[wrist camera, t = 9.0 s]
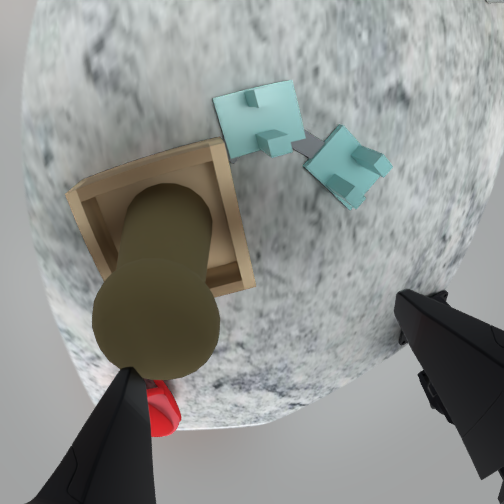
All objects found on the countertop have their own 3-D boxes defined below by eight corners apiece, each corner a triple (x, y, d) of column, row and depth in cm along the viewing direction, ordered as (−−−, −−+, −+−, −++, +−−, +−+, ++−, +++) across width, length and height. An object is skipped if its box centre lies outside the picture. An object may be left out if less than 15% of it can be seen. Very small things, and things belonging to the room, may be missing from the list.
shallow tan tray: (248, 263, 22) (256, 286, 20) (130, 293, 22) (124, 318, 19) (219, 136, 17) (224, 142, 15) (81, 179, 17) (65, 194, 14)
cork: (226, 245, 20) (259, 373, 11) (151, 277, 21) (136, 410, 11) (190, 166, 17) (187, 256, 8) (108, 207, 17) (41, 322, 8)
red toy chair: (184, 392, 24) (126, 415, 20) (193, 435, 25) (143, 458, 21) (147, 359, 30) (99, 374, 26) (157, 399, 31) (113, 415, 27)
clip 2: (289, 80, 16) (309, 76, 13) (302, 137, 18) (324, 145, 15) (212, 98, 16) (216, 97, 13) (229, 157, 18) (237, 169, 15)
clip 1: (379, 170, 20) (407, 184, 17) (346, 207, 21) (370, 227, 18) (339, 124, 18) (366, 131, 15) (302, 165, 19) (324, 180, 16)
